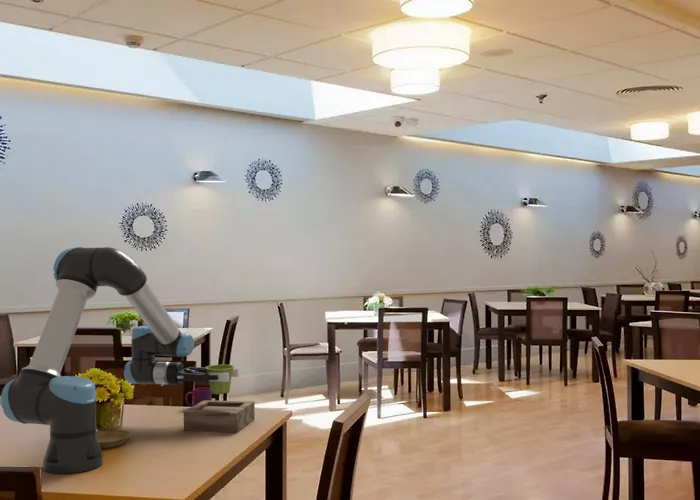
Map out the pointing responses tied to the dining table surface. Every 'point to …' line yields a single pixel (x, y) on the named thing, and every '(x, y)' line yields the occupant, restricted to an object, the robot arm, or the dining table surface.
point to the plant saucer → (112, 438)
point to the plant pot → (220, 386)
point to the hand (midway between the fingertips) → (233, 375)
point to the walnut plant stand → (219, 416)
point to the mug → (199, 395)
